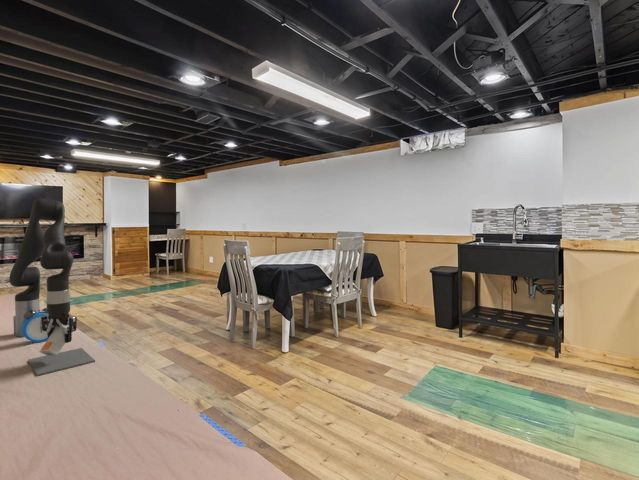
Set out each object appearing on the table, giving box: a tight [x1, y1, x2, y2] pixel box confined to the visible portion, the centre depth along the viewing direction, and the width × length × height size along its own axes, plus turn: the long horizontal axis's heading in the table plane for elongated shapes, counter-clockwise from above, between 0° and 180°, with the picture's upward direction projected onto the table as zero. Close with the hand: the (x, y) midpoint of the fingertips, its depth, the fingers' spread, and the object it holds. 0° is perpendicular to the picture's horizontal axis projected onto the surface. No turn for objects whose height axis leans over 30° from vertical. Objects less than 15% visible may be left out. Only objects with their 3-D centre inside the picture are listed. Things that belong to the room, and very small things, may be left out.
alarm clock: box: [20, 307, 49, 344], centre depth 162 cm, size 13×6×15 cm, turn 143°
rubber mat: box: [28, 347, 96, 377], centre depth 138 cm, size 20×18×1 cm
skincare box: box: [39, 324, 73, 356], centre depth 139 cm, size 6×4×12 cm
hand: (59, 341), depth 140 cm, fingers closed on skincare box, 7 cm apart
